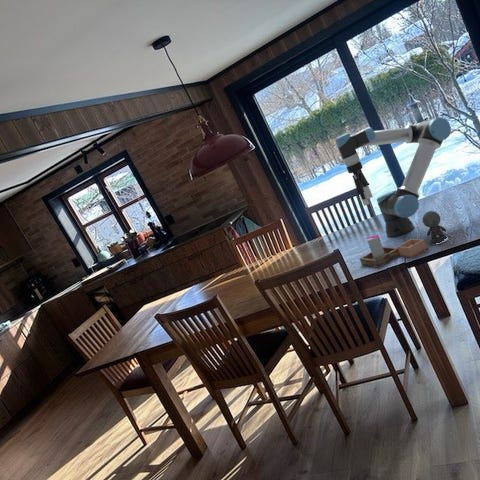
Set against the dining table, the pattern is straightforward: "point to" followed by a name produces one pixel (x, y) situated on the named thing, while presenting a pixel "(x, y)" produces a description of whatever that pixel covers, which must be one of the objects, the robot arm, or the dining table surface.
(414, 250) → the tan square open box
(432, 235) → the figurine
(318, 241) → the dining table surface
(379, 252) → the supplement box
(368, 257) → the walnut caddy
